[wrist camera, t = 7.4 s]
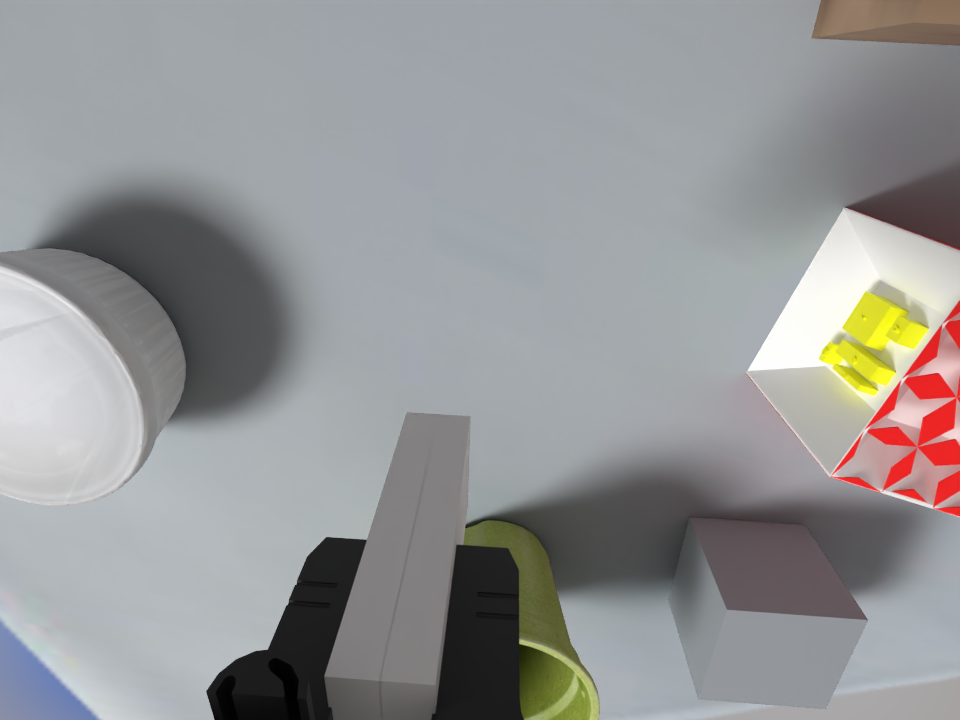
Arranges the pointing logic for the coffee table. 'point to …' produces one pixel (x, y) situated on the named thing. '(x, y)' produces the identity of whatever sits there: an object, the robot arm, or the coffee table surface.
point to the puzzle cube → (873, 361)
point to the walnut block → (890, 21)
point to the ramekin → (80, 376)
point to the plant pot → (541, 631)
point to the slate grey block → (762, 614)
